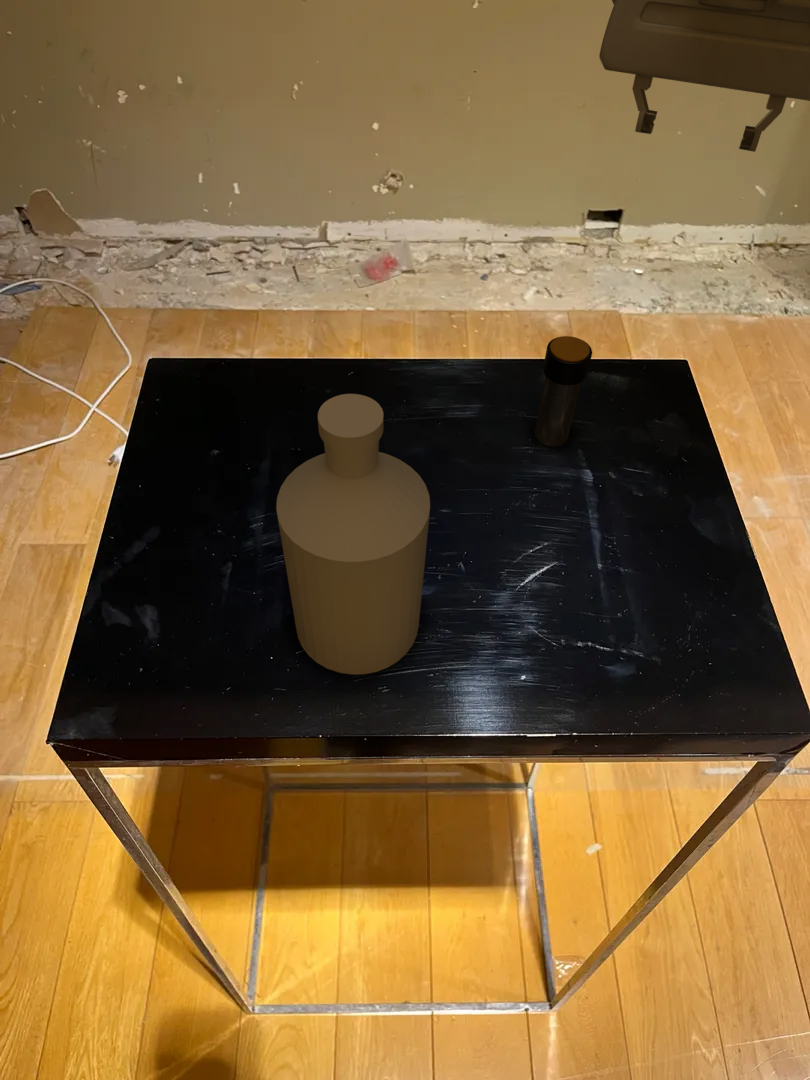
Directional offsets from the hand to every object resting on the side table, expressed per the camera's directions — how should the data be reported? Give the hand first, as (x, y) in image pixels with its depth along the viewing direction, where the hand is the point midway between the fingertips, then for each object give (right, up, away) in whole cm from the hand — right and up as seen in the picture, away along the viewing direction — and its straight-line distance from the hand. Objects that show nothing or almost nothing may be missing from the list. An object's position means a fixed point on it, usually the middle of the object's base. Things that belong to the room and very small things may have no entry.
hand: (694, 141), depth 76 cm
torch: (-10, -25, +17) cm, 32 cm away
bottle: (-31, -44, 0) cm, 54 cm away
